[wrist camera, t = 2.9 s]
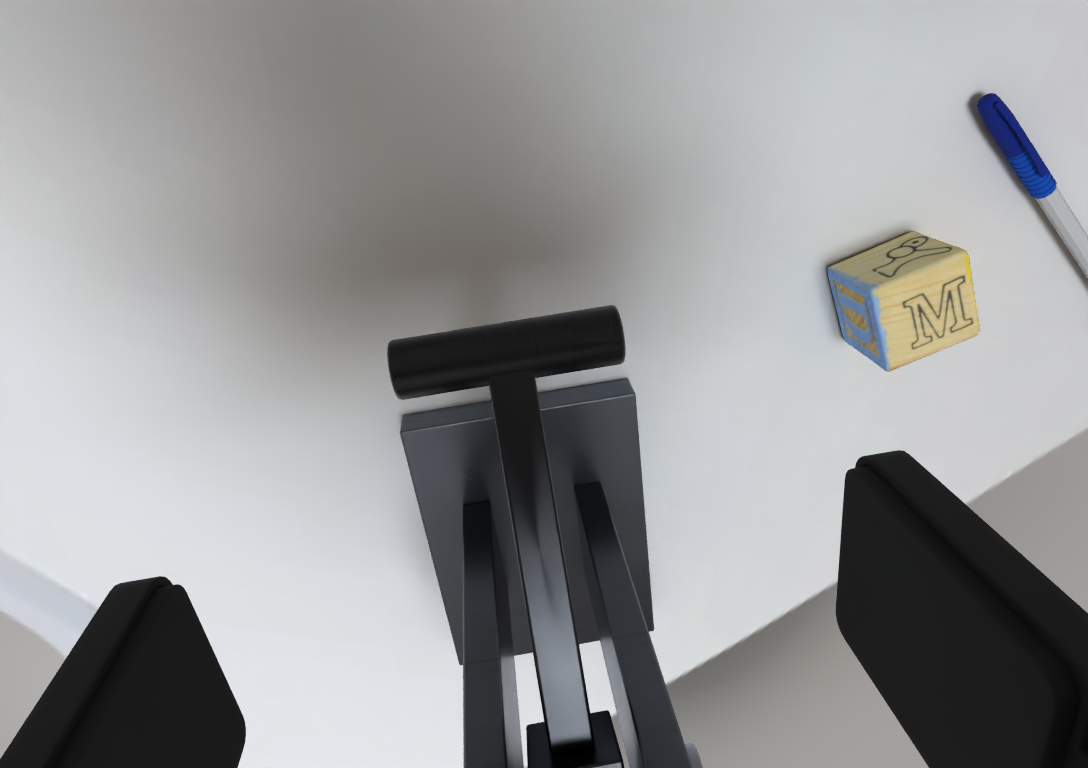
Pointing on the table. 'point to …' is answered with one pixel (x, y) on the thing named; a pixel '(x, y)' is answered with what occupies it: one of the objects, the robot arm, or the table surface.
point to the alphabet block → (905, 299)
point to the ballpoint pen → (1034, 175)
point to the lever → (530, 494)
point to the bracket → (590, 555)
